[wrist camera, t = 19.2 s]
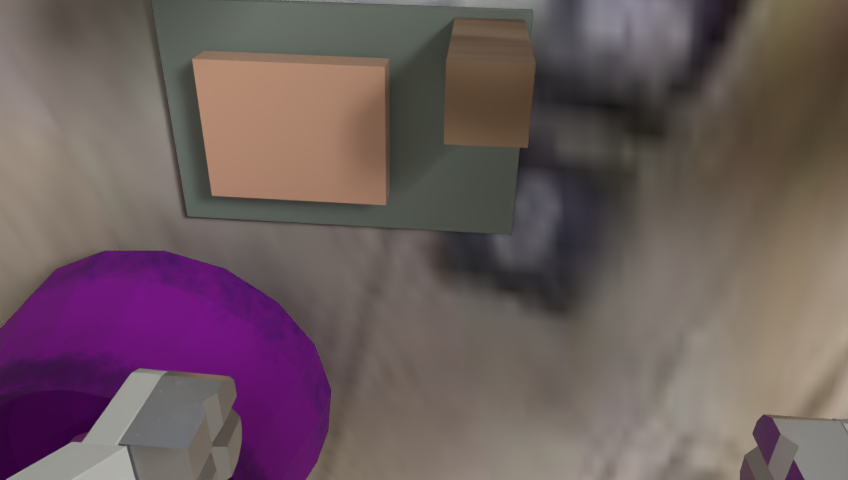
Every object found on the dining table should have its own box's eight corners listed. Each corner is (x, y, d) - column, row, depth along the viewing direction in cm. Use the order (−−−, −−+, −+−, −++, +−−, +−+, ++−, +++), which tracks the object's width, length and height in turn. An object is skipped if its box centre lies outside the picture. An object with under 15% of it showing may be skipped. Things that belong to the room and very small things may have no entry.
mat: (532, 9, 31) (533, 12, 31) (511, 229, 37) (511, 234, 36) (156, -4, 32) (150, -2, 32) (191, 211, 38) (187, 216, 37)
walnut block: (518, 88, 32) (527, 148, 25) (452, 85, 33) (443, 144, 26) (524, 19, 31) (535, 63, 24) (455, 17, 31) (446, 60, 24)
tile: (384, 67, 31) (191, 59, 31) (385, 205, 34) (212, 195, 34) (390, 56, 32) (206, 49, 33) (390, 189, 36) (224, 180, 36)
